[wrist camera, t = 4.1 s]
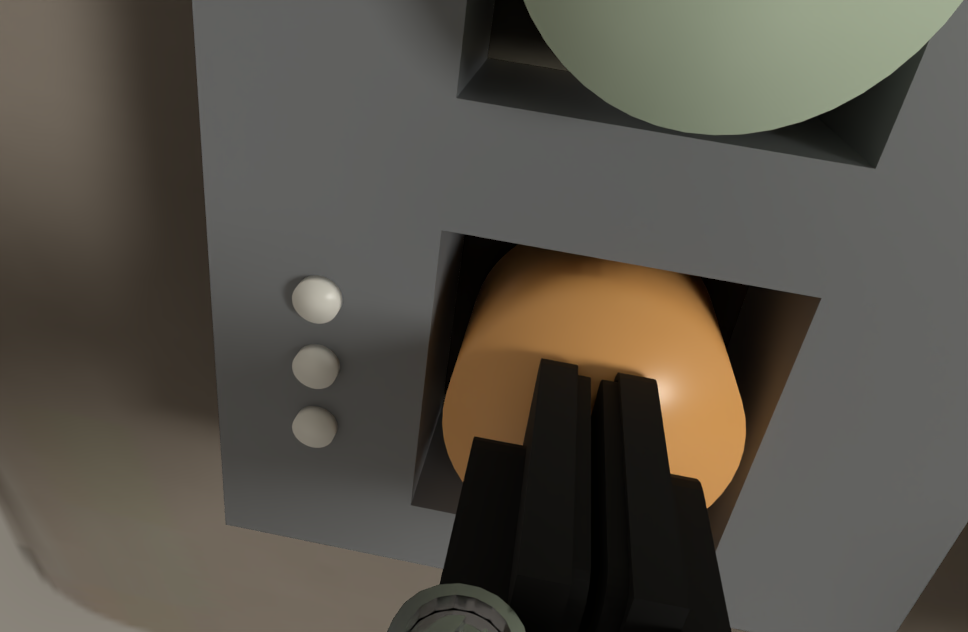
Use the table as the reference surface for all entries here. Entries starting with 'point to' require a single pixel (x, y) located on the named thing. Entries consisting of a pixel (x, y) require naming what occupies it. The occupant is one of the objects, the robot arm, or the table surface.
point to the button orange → (597, 355)
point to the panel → (595, 233)
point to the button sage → (734, 55)
